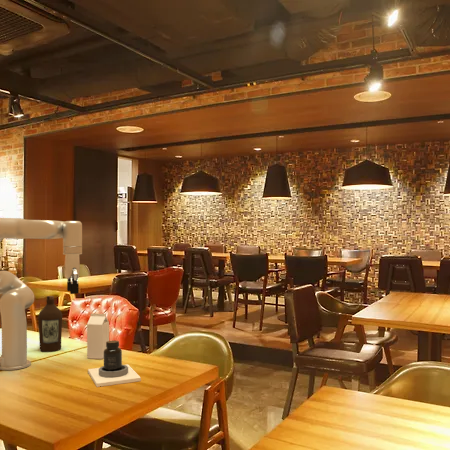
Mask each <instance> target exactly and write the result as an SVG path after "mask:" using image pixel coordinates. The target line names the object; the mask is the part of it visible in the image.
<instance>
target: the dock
mask: <svg viewBox="0 0 450 450" xmlns="http://www.w3.org/2000/svg"><path fill="white" fill-rule="evenodd" d="M87 374H88V375H89V377H90V379H91V381H92V382H93V383H94V386H95V387H96V388H99V387H100V386H101V387H107V386H114V385H123V384H129V383H135V382H136V383H137V382H141V381H142V378H141V376H140V375H139V374H138V373H137V372H136V371H135V370H134V369H133V368H132V367H131V366H130V364H127V363H126V364H122V370H119V371H104V365H103V366H100V367H96V368H88V369H87Z"/></svg>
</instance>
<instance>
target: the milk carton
mask: <svg viewBox="0 0 450 450" xmlns="http://www.w3.org/2000/svg"><path fill="white" fill-rule="evenodd" d="M106 315H107V314H106V313H90V317H89V319H88V321H87V323H86V337H87V338H86V346H87V347H86V353H87V354H86V355H87V357H86V358H87V359H94V360H95V359H96V360H97V359H98V360H102V359H103V360H104V350H105V349H106V348H107V347H106V342H107V341H110V321H109V319H108V317H107V316H106Z"/></svg>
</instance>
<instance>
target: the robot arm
mask: <svg viewBox="0 0 450 450" xmlns="http://www.w3.org/2000/svg"><path fill="white" fill-rule="evenodd" d="M4 239H14V240H24V239H30V240H31V239H34V240H35V239H38V240H40V239H41V240H53V239H55V240H56V239H62V255H65V257H64V278H65V279H67V284H66V287H67V288H66V289H67V290H66V291H67V292H69V293H70V295H77V294H79V293H80V291H79V289H80V288H79V278H80V266H81V265H80V255H83V223H82V222H81V221H80V220H66V221H62V220H54V219H53V220H50V219H49V220H47V219H46V220H45V219H42V220H41V219H24V218H20V217H19V218H17V217H0V242H2V241H3V240H4ZM0 295H1V297H0V317H1V319H0V320H1V355H0V370H1V371H15V370H21V369H25V368H28V367H30V366H31V365H32V362H31V360H29V359H28V331H27V330H28V326H27V325H28V321H27V317H26V316H27V315H26V309H28V308H30V307H31V306H32V305H33V304H34V302H35V294H34V291H33V290H32V289H31V288H30V287H29V286H28V285H27V284H26V283H25V282H23V281H22V280H21V279H20V278H19V277H17V275H15V274H14V273H13V272H11V271H9V270H8V271H7V270H0Z"/></svg>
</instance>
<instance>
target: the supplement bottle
mask: <svg viewBox="0 0 450 450" xmlns="http://www.w3.org/2000/svg"><path fill="white" fill-rule="evenodd" d="M106 347H107V348H106V349H105V350H104V358H103V366H104V371H119V370H122V365H123V357H122V356H123V354H122V352H123V351H122V349H121V348H120V341H119V340H115V339H114V340H109V341H107V342H106Z"/></svg>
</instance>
